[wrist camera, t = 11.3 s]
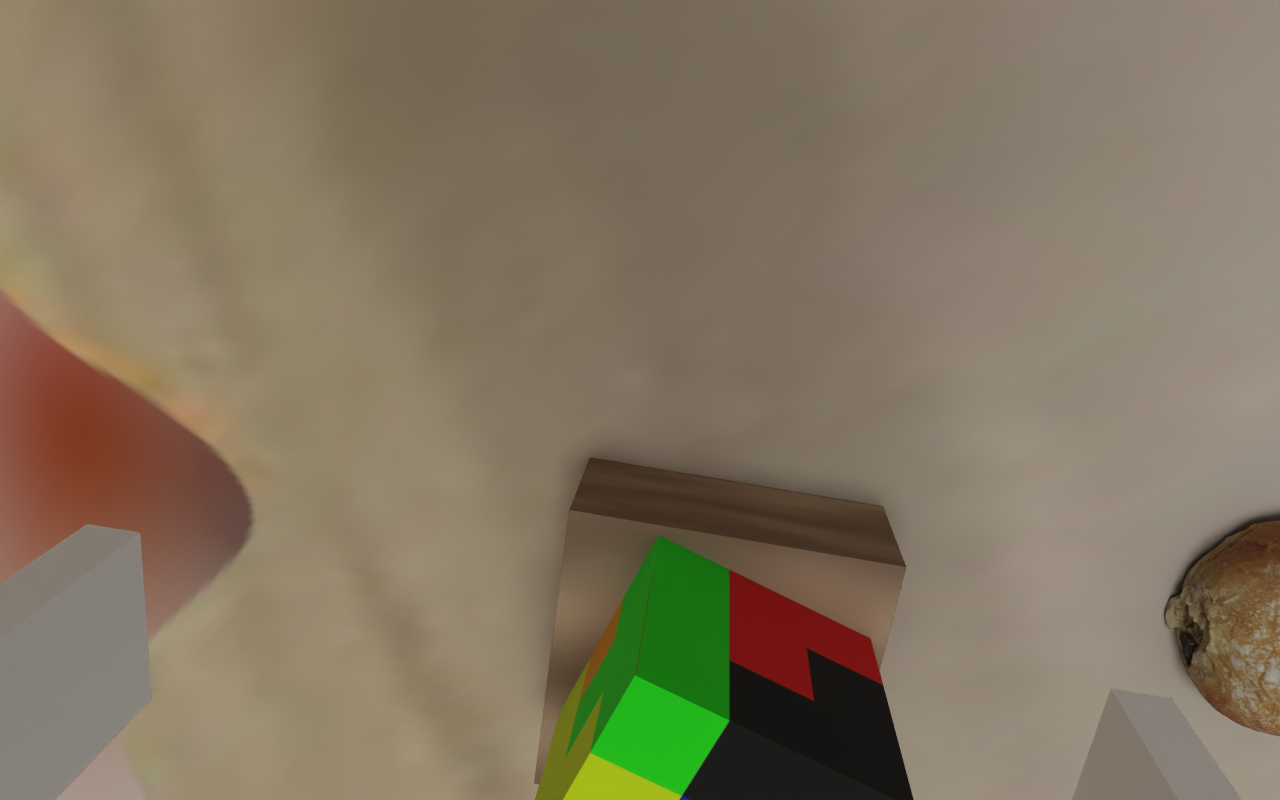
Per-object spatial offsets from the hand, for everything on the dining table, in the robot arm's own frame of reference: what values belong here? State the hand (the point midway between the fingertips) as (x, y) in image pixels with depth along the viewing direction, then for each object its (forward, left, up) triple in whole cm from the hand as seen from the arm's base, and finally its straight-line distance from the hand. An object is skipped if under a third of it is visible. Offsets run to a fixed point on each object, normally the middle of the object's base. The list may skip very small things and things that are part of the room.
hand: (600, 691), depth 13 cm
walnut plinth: (+16, +4, -30) cm, 34 cm away
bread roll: (+10, +30, -31) cm, 44 cm away
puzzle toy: (+16, +4, -24) cm, 29 cm away
